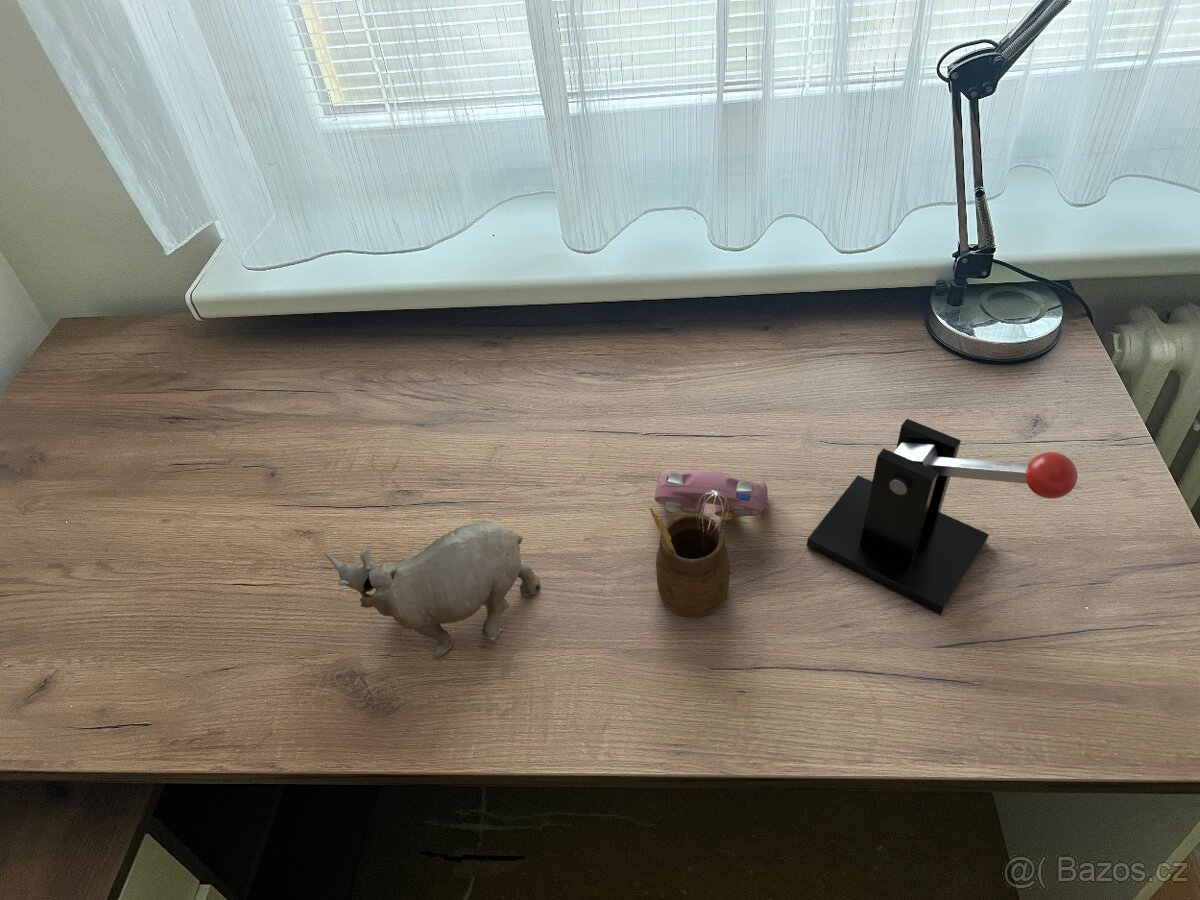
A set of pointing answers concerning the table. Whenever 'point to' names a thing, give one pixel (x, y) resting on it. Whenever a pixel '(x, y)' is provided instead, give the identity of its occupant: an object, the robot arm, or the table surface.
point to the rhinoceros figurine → (445, 581)
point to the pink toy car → (711, 493)
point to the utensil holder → (692, 563)
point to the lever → (1001, 469)
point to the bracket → (902, 526)
